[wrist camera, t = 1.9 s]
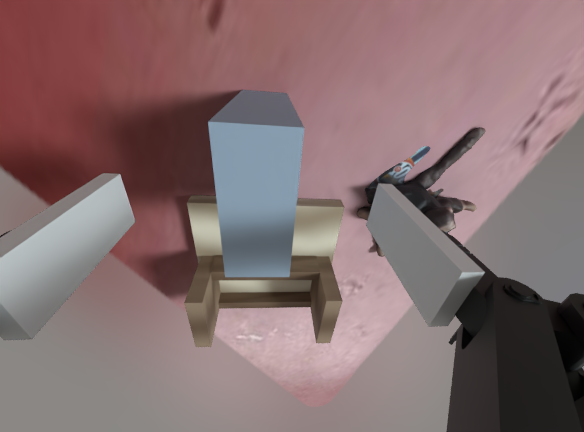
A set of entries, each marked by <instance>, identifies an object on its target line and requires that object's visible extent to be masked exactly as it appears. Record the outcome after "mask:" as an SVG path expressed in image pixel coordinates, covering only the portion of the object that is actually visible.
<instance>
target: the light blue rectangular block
mask: <svg viewBox="0 0 584 432" xmlns="http://www.w3.org/2000/svg"><path fill="white" fill-rule="evenodd" d="M208 126H209V135H210V144H211V153H212V163H213V172H214V181H215V190H216V199H217V208H218V217H219V226H220V235H221V244H222V254H223V263H224V272H225V277H289V276H290V266H291V256H292V246H293V236H294V226H295V216H296V206H297V196H298V186H299V176H300V166H301V156H302V146H303V136H304V126H303V124H302V122H301V120H300V118H299V116H298V114H297V112H296V110H295V108H294V106H293V104H292V102H291V100H290V98H289V96H288V95H287V93H278V92H265V91H252V90H242V91H241V92H239V93H238V94H237V95H236V96H235V97H234V98H233V99H232V100H231V101H230V102H229V103H228V104H226V105H225V106H224V107H223V108H222V109H221V110H220V111H219V112H218V113H217V114H216V115H215V116H214V117H212V118H211V119H210V120H209V121H208Z"/></svg>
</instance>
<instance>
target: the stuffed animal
mask: <svg viewBox="0 0 584 432" xmlns="http://www.w3.org/2000/svg"><path fill="white" fill-rule="evenodd" d="M484 133H485V129H484V128H477V129H475V130H473V131H471V132H470V133H468V134H467V135H466V136H465V137H464V138H463V139H462V140H461V141H460V142H459V143H458V144H457V145H456V146H455V147H454V148H453V149H452V150H451V151H450V152H449V153H448V154H447V155H446V156H445V157H444V158H443V159H442V160H441V161H440V162H439V163H438V164H436V165H435V166H433V167H431V168H429V169H427V170H426V171H424V172H422V173H421V174H420V175H419V176H417V177H416V178H415V179H414V180H412V181H409V182H407V183H404V178H405V176H406V174H407V173H408V171H409V170H410V169H411V168H412V167H413V166H414V165H415V164H416V163H417V162H418V161H419V160H420V159H421V158H422V157H423V156H424V155H425V154H426V153H427V152H428V151H429V150H430V147H428V146H425V147H422V148H420V149H419V150H418V151H417V152H416V153H415V154H414V155H413V156H411V157H410V158H408V159H406V160H405V161H403V162H401V163H399V164H397V165H395V166H394V167H392V168H390V169H389V170H387V171H386V172H384V173H383V174H381V175H380V176H379V177H378V178H376V179H375V180H374V181H373V182H372V183H371V184H370V186H369V188H366V189H365V191H366V195H367V197H368V203H369V204H372V203H373V200H374V197H375V193H376V190H377V186H378V184H392V185H393V186H394V187H395V188H396V189H397V190H398V191H400V192H401V193H402V194H403V195H404V196H405V197H406V198H407V199H408V200H409V201H410V202H411V203H412V204H413V205H414V206H415V207H416V208H418V209H419V210H420V211H421V212H422V213H423V214H424V215H425V216H426V217H427V218H428V219H429V220H430V221H431V222H432V223H433V224H434V225H436V226H437V227H438V228H439V229H440V230H443V231H444V232H446V233H448V232H449V231H451V230H452V229H454V228H456V225H455V221H454V214H453V213H458V212H460V211H462V210H469V211H475V210H476V206H475V205H474V204H473V203H471V202H469V201H465V200H459V199H457V198H446V197H437V196H438V195H439V194H440V193H441V192H442V191H443V189H440V190H438V191H436V192H432V191H431V190H428V191H427V190H426V189H428V188H429V187H431V186H432V185H433V184H434V183H435V182H436V181H437V180H438V179H439V178H440V176H441V175H442V174H443V173H444V172H445V170H446V169H447V168H449V167H450V166H451V165H452V164H453V163H455V162H456V161H457V160H458V159H459V158H461V156H462V155H463V154H464V153H466V152H467V151H468V150H469V149H471V148H472V146H473V145H474V144H475V143H476V142H477V141H478V140H479V139H480V138H481V136H482V135H483V134H484ZM436 197H437V198H436ZM370 210H371V207H363V208H361V209H359V211H358V213H357V216H359V217H361V218H364V219H365V220H367V221H368V217H369V214H370ZM376 244H377V242H376ZM377 253H378V255H379V256H381V257H383V256H385V255H384V253H383V252H382V250H381V249H380V247H379V245H378V244H377Z"/></svg>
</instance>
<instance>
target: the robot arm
mask: <svg viewBox="0 0 584 432" xmlns="http://www.w3.org/2000/svg"><path fill="white" fill-rule="evenodd" d="M134 223H135V218H134V215H133V212H132V209H131V206H130V203H129V200H128V197H127V194H126V191H125V188H124V185H123V182H122V178H121V175H120V174H110V173H103V174H101V175H99V176H98V177H96V178H95V179H93V180H91V181H90V182H88V183H87V184H85V185H83V186H82V187H80V188H79V189H77V190H75V191H74V192H72V193H71V194H69V195H67V196H66V197H64V198H63V199H61V200H59V201H58V202H56V203H55V204H53V205H52V206H50V207H48V208H47V209H45V210H44V211H42V212H40V213H39V214H37V215H36V216H34V217H32V218H31V219H29V220H28V221H26V222H24V223H23V224H21V225H20V226H18V227H17V228H15V229H13V230H11V231H9V232H6V233H4V234H3V235H1V236H0V337H1V338H2V339H3V340H25V339H33V338H34V337H35V335H36V334H37V333H38V332H39V331H40V330H41V328H42V327H43V326H44V325H45V324H46V323H47V322H48V320H49V319H50V318H51V317H52V316H53V315H54V314H55V312H56V311H57V310H58V309H59V308H60V307H61V306H62V305H63V303H64V302H65V301H66V300H67V299H68V298H69V297H70V295H71V294H72V293H73V292H74V291H75V290H76V289H77V288H78V286H79V285H80V284H81V283H82V282H83V281H84V279H85V278H86V277H87V276H88V275H89V274H90V273H91V272H92V270H93V269H94V268H95V267H96V266H97V265H98V264H99V262H100V261H101V260H102V259H103V258H104V257H105V256H106V254H107V253H108V252H109V251H110V250H111V249H112V248H113V247H114V245H115V244H116V243H117V242H118V241H119V240H120V239H121V237H122V236H123V235H124V234H125V233H126V232H127V231H128V229H129V228H130V227H131V226H132V225H133V224H134ZM366 226H367V228H368V229H369V231H370V232H371V234H372V236H373V237H374V239H375V241H376V242H377V244H378V245H379V247H380V249H381V250H382V252H383V253H384V255H385V257H386V258H387V260H388V262H389V263H390V265H391V266H392V268H393V270H394V271H395V273H396V275H397V276H398V278H399V279H400V281H401V283H402V284H403V286H404V288H405V289H406V291H407V292H408V294H409V296H410V297H411V299H412V300H413V302H414V304H415V305H416V307H417V308H418V310H419V312H420V313H421V315H422V317H423V318H424V320H425V322H426V323H427V325H428V326H429V327H432V326H448V325H449V324H450V322H451V321H452V319H453V318H454V316H455V315H456V317H457V318H458V319H459V321H460V322H461V323H462V324H461V325H460V327H459V328H458V329H457V331H456V332H455V334H454V335H453V336H452V338H451V339H450V341H449V343H450V344H451V345H452V344H453V342H454V341H456V349H455V359H454V368H453V377H452V386H451V396H450V405H449V414H448V424H447V432H584V370H583V369H582V367H583V366H584V295H583V294H577V293H575V294H570V295H569V296H568V297H567V298H566V299H565V300H564V301H563V302H562V303H558V302H553V301H549V300H545V299H543V298H542V297H541V296H540V295H538V294H537V293H536V292H535V291H534V290H532V289H531V288H529V287H528V286H526V285H524V284H522V283H520V282H518V281H515V280H511V279H508V278H498V277H497V276H496V275H495V274H494V273H493V272H492V271H490V270H489V269H488V268H487V267H486V266H485V265H484V264H483V263H482V262H481V261H479V260H478V259H477V258H476V257H475V256H474V255H473V254H470V251H469V250H467V249H466V248H465V247H463V245H462V244H461V243H460V242H459V241H458V240H457V239H455V238H454V237H453V236H451V235H449V234H448V233H446V232H444V231H443V230H440V229H439V228H438V227H437V226H436V225H434V224H433V223H432V222H431V221H430V220H429V219H428V218H427V217H426V216H425V215H424V214H423V213H422V212H421V211H420V210H419V209H418V208H416V207H415V206H414V205H413V204H412V203H411V202H410V201H409V200H408V199H407V198H406V197H405V196H404V195H403V194H402V193H401V192H400V191H398V190H397V189H396V188H395V187H394V186H393V185H392V184H378V186H377V190H376V193H375V197H374V200H373V203H372V207H371V210H370V214H369V217H368V221H367V224H366Z"/></svg>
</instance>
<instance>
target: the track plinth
mask: <svg viewBox="0 0 584 432" xmlns="http://www.w3.org/2000/svg"><path fill="white" fill-rule="evenodd" d="M187 206H188V212H189V217H190V222H191V228H192V233H193V238H194V244H195V249H196V254H197V260H198V267H197V269H196V272H195V275H194V278H193V281H192V283H191V286H190V289H189V292H188V294H187V297H186V300H185V303H184V304H185V308H186V311H187V315H188V319H189V323H190V326H191V330H192V334H193V338H194V342H195V345H196V347H211V345H212V340H213V335H214V330H215V326H216V321H217V316H218V312H219V308H279V307H311V313H312V319H313V325H314V331H315V338H316V343H330V341H331V338H332V334H333V331H334V328H335V324H336V321H337V317H338V314H339V311H340V307H341V304H342V298H341V295H340V291H339V288H338V285H337V281H336V278H335V275H334V271H333V268H332V265H331V264H332V260H333V256H334V251H335V247H336V243H337V238H338V234H339V229H340V225H341V221H342V216H343V212H344V205H343V203H342V201H341V200H328V199H297V206H296V216H295V226H294V236H293V246H292V256H291V266H290V276H289V277H225V272H224V263H223V254H222V244H221V235H220V226H219V217H218V208H217V199H216V196H202V195H191V197H190V198H189V200H188V202H187Z"/></svg>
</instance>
